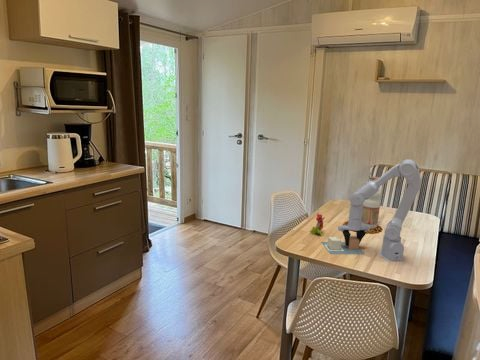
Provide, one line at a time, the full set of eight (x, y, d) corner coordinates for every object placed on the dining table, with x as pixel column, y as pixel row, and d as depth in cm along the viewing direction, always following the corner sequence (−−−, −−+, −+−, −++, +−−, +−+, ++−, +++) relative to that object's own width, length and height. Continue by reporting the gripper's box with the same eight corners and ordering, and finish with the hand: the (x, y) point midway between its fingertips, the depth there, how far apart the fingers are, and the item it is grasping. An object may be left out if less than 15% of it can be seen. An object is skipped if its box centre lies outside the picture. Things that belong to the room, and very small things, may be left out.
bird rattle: (312, 235, 189) (308, 233, 181) (316, 214, 191) (312, 212, 183) (324, 237, 187) (320, 236, 179) (328, 216, 188) (325, 214, 180)
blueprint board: (364, 255, 162) (365, 254, 161) (330, 255, 160) (330, 253, 160) (352, 243, 175) (353, 241, 175) (320, 243, 174) (321, 241, 174)
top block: (358, 248, 167) (359, 239, 166) (349, 248, 167) (350, 239, 166) (354, 245, 171) (355, 236, 170) (345, 245, 171) (346, 236, 170)
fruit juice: (358, 227, 199) (364, 177, 193) (360, 222, 207) (366, 174, 201) (376, 230, 195) (383, 179, 189) (377, 225, 204) (383, 176, 198)
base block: (340, 249, 165) (341, 240, 164) (330, 249, 165) (331, 240, 164) (336, 245, 170) (337, 236, 169) (327, 245, 169) (328, 236, 168)
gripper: (366, 215, 170) (363, 241, 173) (337, 214, 169) (334, 241, 172) (373, 220, 163) (369, 247, 166) (342, 219, 162) (339, 247, 165)
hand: (352, 245), depth 169 cm, fingers closed on top block, 4 cm apart
